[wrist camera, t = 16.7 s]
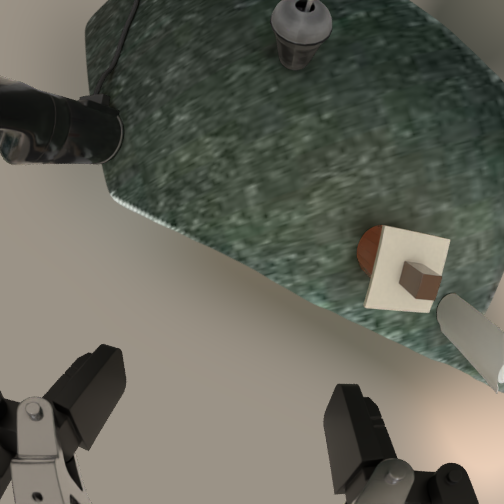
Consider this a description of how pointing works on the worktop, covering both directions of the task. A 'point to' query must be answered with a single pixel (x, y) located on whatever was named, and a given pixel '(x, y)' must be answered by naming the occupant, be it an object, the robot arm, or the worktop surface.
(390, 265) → the lid
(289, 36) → the beverage cup
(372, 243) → the tumbler
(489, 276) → the worktop surface
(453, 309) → the paper towel roll
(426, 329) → the worktop surface
